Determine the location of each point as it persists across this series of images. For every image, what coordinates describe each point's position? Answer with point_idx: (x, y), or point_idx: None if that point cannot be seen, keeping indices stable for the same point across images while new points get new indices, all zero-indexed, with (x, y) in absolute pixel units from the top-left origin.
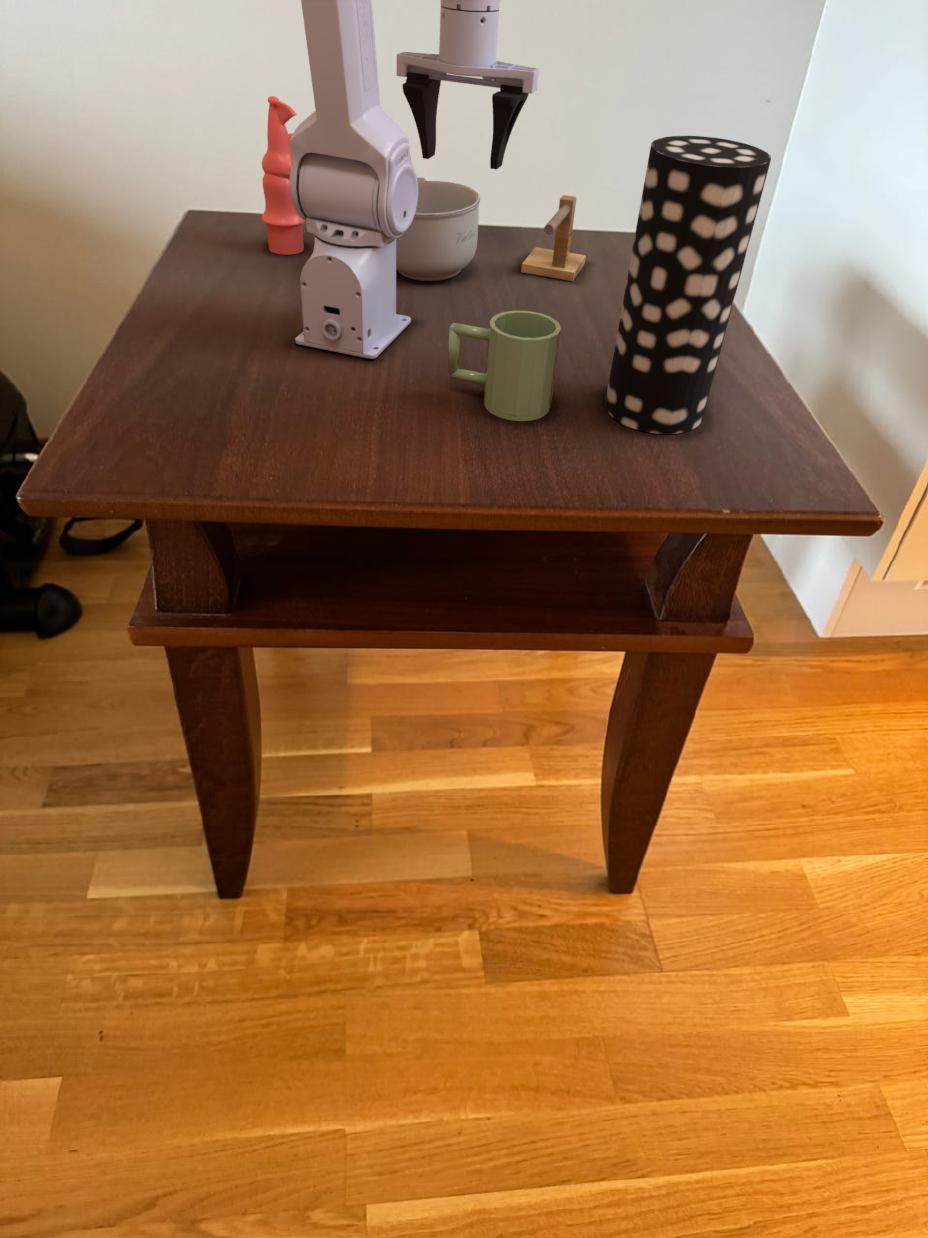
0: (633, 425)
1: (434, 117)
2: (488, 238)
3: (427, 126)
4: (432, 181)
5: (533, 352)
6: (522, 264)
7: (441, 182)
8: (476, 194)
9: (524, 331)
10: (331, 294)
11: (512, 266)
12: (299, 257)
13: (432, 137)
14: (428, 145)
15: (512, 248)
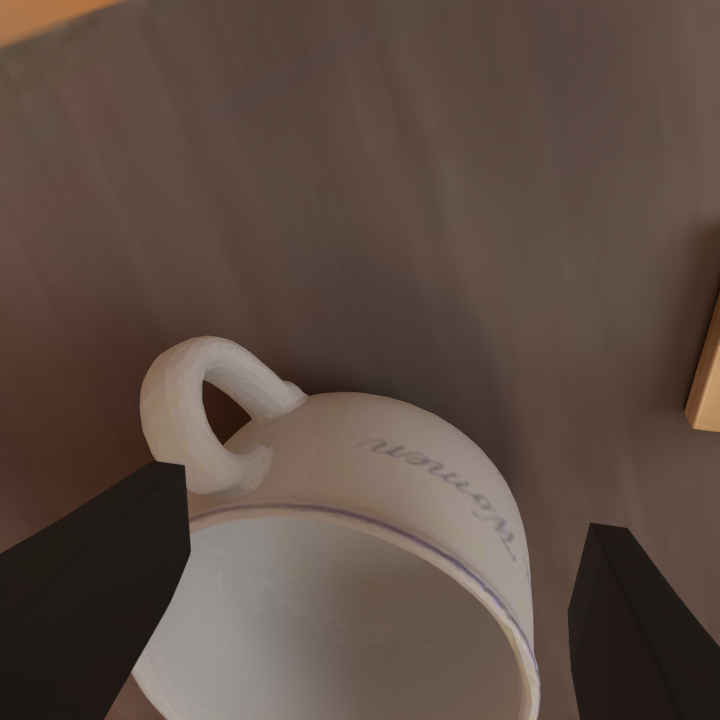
0: None
1: (66, 611)
2: (503, 68)
3: (102, 689)
4: (261, 517)
5: None
6: (694, 428)
7: (305, 519)
8: (513, 644)
9: None
10: None
11: (646, 362)
12: (4, 489)
13: (138, 563)
14: (162, 605)
15: (631, 160)
